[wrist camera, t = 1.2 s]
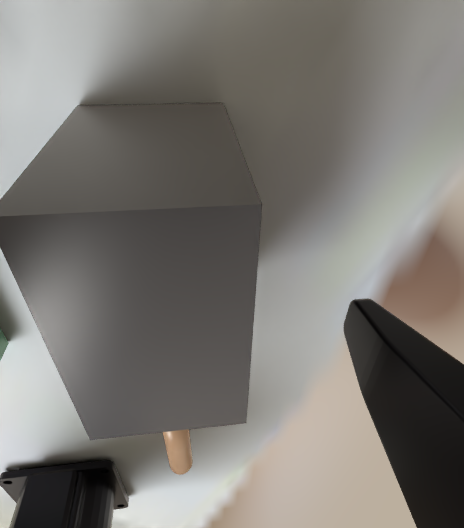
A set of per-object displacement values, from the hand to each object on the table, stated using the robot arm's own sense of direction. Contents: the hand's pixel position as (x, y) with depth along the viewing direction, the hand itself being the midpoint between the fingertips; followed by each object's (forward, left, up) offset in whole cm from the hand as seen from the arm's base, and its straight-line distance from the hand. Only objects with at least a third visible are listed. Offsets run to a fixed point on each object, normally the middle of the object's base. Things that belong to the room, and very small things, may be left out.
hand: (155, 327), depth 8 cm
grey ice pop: (-2, 0, -5) cm, 6 cm away
